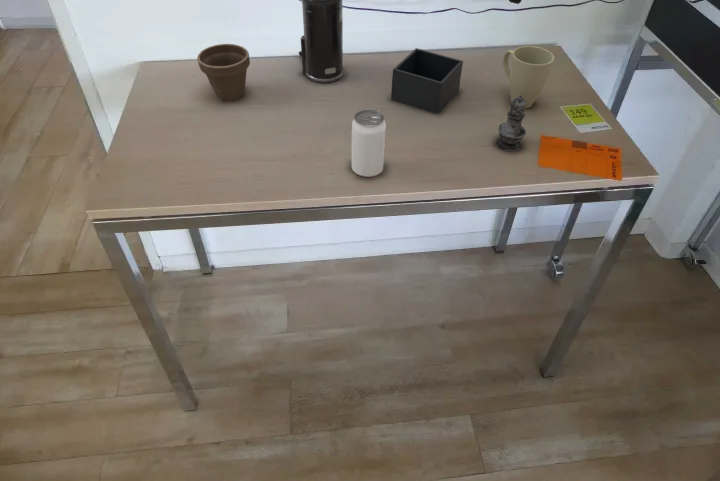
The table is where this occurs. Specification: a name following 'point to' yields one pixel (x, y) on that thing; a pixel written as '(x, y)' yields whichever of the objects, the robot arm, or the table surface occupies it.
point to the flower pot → (225, 69)
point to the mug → (527, 72)
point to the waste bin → (426, 80)
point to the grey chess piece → (513, 127)
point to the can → (368, 142)
